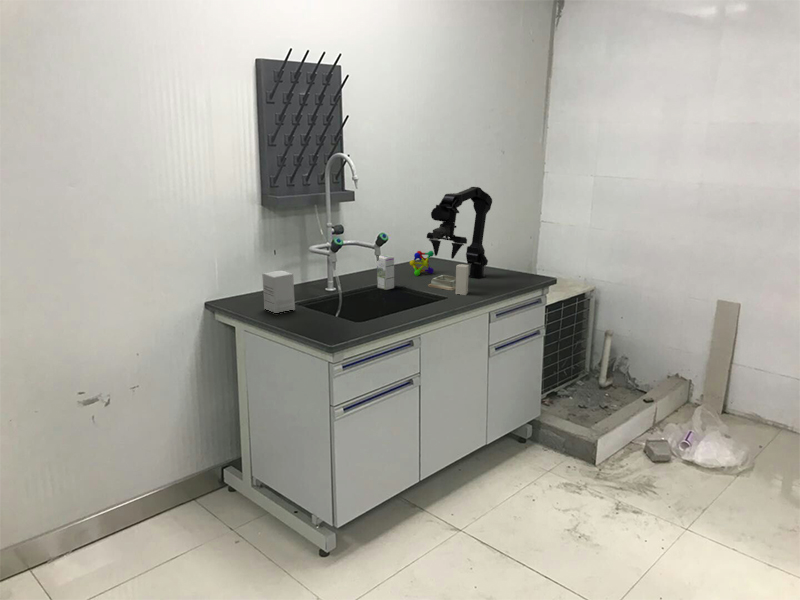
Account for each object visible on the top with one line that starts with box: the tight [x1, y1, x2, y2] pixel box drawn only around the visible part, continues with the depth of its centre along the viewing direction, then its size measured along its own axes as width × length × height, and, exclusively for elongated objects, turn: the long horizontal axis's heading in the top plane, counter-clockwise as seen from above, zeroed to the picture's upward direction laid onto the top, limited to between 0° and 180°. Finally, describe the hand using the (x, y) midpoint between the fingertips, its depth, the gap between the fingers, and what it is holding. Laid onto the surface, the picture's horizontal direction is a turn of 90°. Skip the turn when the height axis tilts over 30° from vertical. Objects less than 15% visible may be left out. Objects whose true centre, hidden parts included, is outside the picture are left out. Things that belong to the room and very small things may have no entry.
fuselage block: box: [454, 263, 470, 296], centre depth 274 cm, size 4×4×12 cm
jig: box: [427, 274, 456, 291], centre depth 288 cm, size 12×12×4 cm
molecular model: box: [409, 250, 435, 277], centre depth 310 cm, size 12×7×12 cm, turn 125°
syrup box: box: [376, 254, 395, 291], centre depth 282 cm, size 6×6×14 cm
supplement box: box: [261, 269, 296, 314], centre depth 247 cm, size 9×9×15 cm
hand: (443, 257), depth 282 cm, fingers open, 9 cm apart
